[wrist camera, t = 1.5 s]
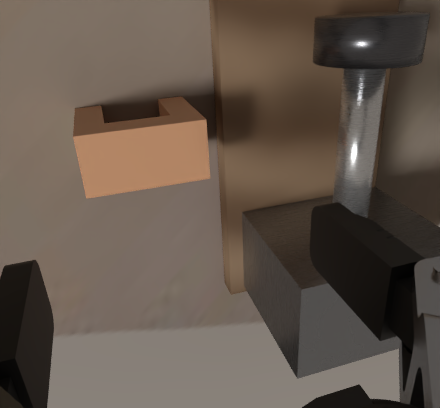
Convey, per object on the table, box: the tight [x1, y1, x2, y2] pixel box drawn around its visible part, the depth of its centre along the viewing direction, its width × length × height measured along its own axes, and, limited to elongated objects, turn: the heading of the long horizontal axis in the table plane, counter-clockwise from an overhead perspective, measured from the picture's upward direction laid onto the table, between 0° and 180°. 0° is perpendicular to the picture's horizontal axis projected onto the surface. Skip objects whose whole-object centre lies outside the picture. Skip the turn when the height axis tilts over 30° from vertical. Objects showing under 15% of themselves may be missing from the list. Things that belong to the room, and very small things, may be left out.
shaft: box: [313, 12, 430, 218], centre depth 22 cm, size 12×5×5 cm, turn 3°
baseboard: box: [209, 0, 399, 295], centre depth 26 cm, size 24×11×2 cm, turn 3°
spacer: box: [73, 96, 210, 198], centre depth 22 cm, size 3×6×6 cm, turn 93°
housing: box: [242, 187, 440, 378], centre depth 26 cm, size 6×10×8 cm, turn 93°
